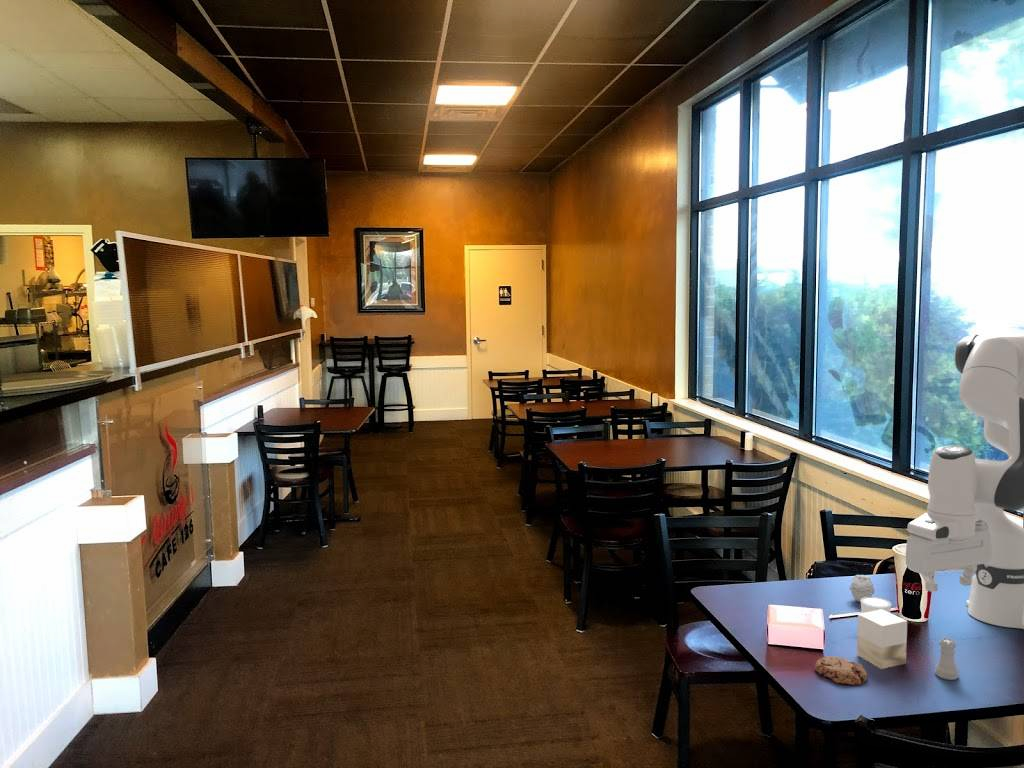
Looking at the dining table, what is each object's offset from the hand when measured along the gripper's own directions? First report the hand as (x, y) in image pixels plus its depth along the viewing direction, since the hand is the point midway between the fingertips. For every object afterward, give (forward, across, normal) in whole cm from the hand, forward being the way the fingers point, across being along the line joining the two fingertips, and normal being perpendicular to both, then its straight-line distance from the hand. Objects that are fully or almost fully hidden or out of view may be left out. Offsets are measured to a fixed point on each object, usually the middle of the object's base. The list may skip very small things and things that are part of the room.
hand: (948, 587), depth 161 cm
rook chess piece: (+20, 0, 0) cm, 20 cm away
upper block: (+15, +7, -11) cm, 20 cm away
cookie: (+20, +20, -9) cm, 30 cm away
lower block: (+20, +7, -11) cm, 24 cm away
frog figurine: (+20, -14, -39) cm, 46 cm away
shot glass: (+20, -4, -24) cm, 31 cm away
